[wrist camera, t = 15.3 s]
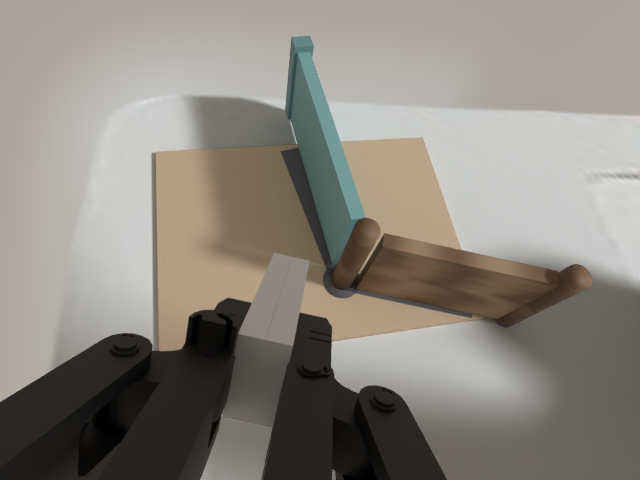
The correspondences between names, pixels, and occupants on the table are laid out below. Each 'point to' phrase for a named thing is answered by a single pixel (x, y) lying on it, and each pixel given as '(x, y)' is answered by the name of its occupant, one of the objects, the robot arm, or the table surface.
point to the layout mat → (288, 232)
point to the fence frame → (452, 276)
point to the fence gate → (321, 150)
